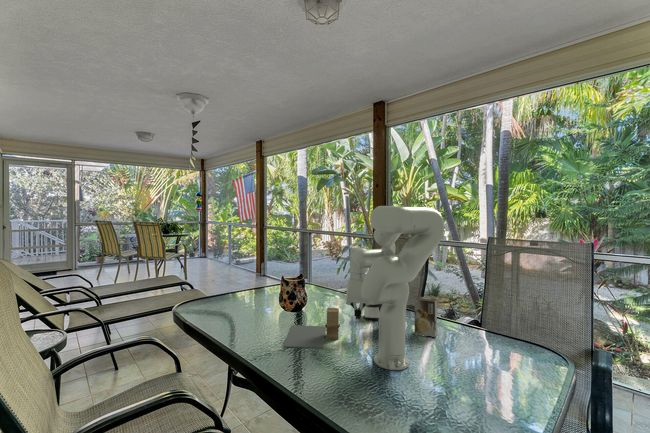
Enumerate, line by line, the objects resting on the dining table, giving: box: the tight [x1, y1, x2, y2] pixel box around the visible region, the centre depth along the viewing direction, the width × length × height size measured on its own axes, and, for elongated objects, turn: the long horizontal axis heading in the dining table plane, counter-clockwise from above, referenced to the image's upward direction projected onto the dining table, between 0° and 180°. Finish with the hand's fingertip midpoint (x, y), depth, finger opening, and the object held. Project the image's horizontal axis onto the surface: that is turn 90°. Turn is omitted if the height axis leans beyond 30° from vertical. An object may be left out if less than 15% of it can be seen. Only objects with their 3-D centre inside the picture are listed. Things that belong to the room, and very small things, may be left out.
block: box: [326, 307, 340, 341], centre depth 139 cm, size 5×5×12 cm
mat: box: [282, 324, 327, 349], centre depth 140 cm, size 24×16×1 cm, turn 177°
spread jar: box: [361, 304, 379, 321], centre depth 166 cm, size 12×11×12 cm
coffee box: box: [414, 296, 438, 338], centre depth 144 cm, size 9×6×16 cm
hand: (357, 318), depth 139 cm, fingers closed
